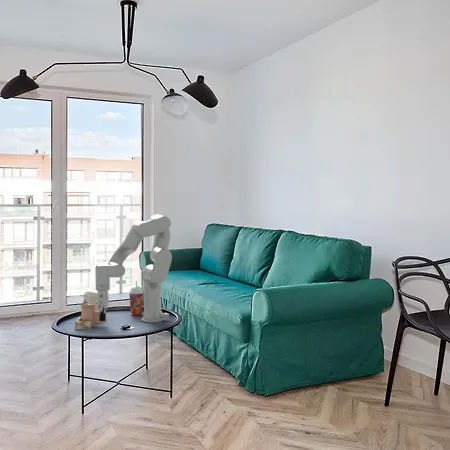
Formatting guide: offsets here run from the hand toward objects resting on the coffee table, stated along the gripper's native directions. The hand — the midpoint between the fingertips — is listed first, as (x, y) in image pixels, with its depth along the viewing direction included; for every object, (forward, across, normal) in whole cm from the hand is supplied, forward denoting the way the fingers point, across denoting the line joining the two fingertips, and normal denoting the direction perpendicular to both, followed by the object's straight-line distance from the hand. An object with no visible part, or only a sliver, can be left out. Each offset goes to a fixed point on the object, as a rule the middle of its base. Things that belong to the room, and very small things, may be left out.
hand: (102, 320), depth 275 cm
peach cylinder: (+3, 0, +5) cm, 6 cm away
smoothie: (+3, +23, -16) cm, 28 cm away
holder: (+3, 0, +10) cm, 10 cm away
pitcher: (+3, +17, +8) cm, 19 cm away
